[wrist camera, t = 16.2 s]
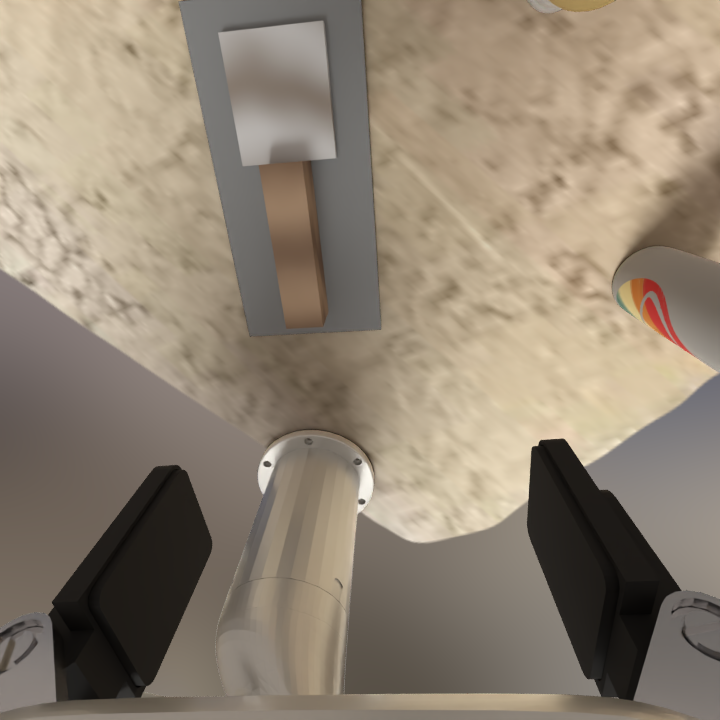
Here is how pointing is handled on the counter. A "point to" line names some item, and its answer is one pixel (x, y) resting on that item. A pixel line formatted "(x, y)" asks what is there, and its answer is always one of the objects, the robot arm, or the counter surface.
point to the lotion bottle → (674, 298)
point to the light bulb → (567, 5)
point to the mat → (330, 176)
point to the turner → (286, 147)
